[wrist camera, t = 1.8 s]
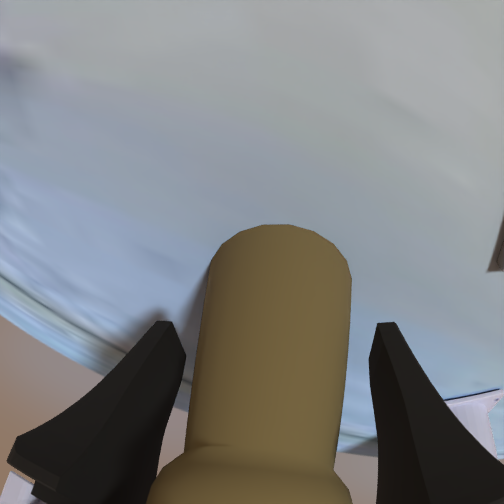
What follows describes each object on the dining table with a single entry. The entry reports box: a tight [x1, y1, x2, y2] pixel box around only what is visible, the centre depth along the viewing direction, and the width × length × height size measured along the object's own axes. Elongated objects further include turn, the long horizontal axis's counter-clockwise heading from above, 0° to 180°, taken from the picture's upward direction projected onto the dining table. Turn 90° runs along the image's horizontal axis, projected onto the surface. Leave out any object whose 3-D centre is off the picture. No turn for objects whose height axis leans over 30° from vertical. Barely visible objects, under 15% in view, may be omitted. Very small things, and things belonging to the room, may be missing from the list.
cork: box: [146, 225, 353, 504], centre depth 9 cm, size 6×6×11 cm
